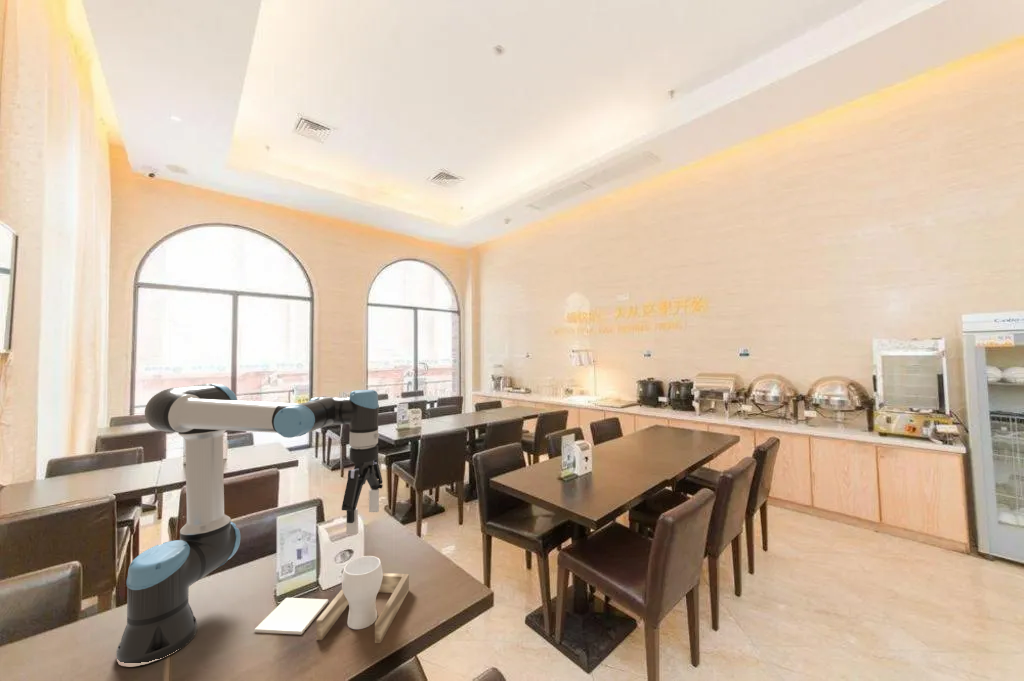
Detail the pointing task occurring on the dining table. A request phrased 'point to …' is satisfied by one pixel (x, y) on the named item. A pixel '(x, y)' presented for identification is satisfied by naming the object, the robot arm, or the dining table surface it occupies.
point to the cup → (362, 590)
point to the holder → (399, 590)
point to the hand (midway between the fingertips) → (363, 522)
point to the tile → (292, 616)
